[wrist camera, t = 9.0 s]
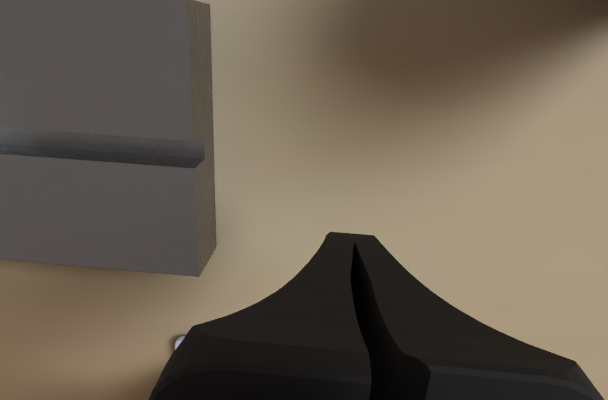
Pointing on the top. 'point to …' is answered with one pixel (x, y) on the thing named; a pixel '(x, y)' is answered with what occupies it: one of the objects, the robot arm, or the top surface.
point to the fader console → (107, 134)
